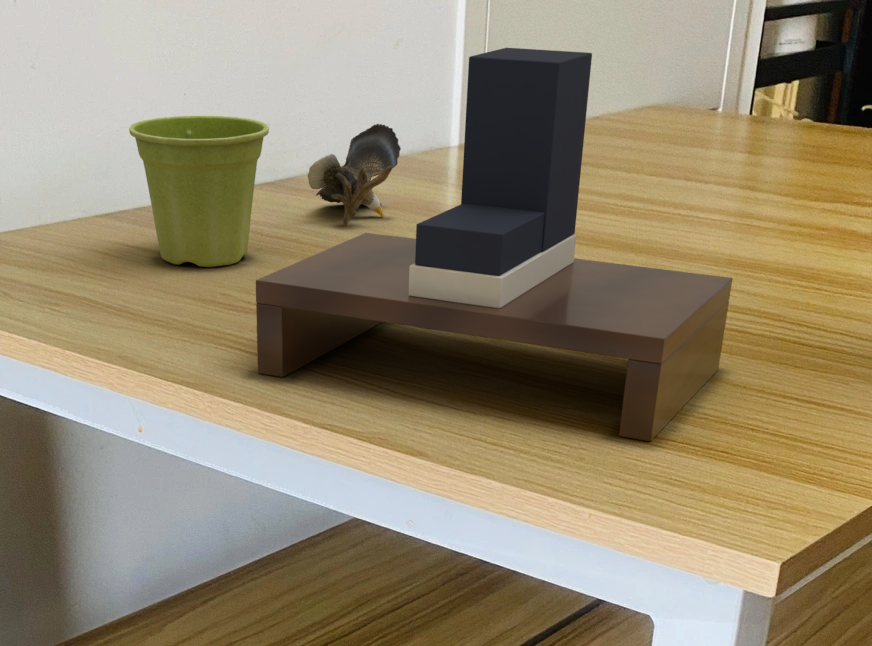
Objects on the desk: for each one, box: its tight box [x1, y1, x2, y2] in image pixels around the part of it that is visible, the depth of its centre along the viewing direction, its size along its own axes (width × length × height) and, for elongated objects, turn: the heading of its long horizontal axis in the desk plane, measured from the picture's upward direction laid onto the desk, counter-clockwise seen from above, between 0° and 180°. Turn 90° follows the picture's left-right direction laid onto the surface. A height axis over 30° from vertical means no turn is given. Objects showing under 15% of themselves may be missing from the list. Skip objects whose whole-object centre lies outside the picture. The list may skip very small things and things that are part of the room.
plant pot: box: [128, 115, 270, 268], centre depth 95 cm, size 9×9×9 cm
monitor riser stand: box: [255, 232, 733, 442], centre depth 74 cm, size 22×13×5 cm, turn 62°
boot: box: [409, 47, 593, 308], centre depth 70 cm, size 11×5×10 cm, turn 152°
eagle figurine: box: [307, 123, 402, 227], centre depth 108 cm, size 8×7×9 cm
